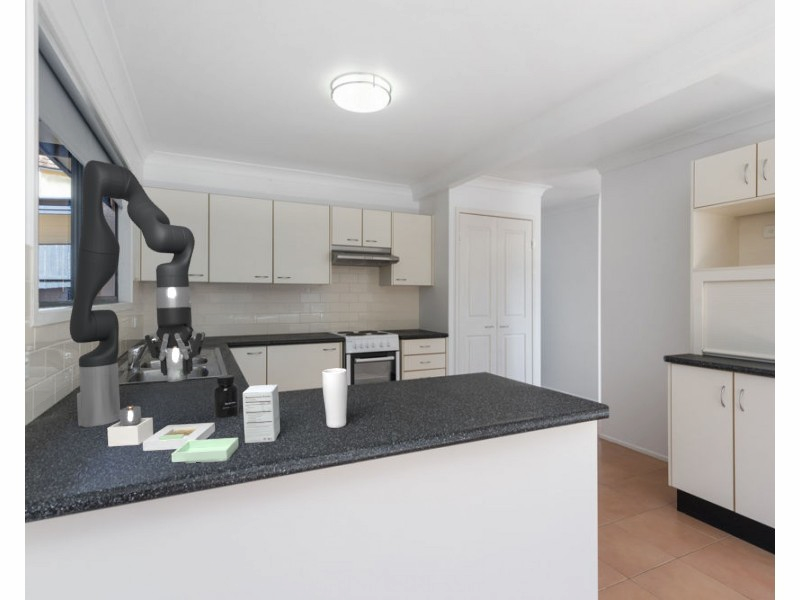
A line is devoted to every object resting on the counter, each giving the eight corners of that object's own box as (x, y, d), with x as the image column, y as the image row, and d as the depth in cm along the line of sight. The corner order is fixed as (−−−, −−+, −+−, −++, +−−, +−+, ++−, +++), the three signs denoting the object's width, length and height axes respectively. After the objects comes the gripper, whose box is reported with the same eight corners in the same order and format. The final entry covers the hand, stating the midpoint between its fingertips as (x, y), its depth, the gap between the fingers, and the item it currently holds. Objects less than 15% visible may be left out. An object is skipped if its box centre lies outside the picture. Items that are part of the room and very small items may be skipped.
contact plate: (163, 442, 100) (163, 438, 100) (174, 434, 106) (174, 430, 106) (188, 441, 100) (187, 437, 100) (198, 433, 106) (197, 429, 106)
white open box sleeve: (108, 448, 100) (107, 427, 100) (125, 438, 107) (124, 419, 107) (138, 446, 101) (137, 426, 101) (153, 436, 108) (152, 417, 108)
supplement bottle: (230, 419, 120) (228, 378, 120) (209, 419, 122) (207, 378, 121) (243, 412, 127) (242, 374, 127) (223, 412, 128) (222, 373, 128)
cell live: (163, 381, 100) (161, 346, 100) (172, 378, 105) (170, 344, 104) (182, 381, 100) (180, 345, 100) (190, 377, 105) (188, 343, 105)
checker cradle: (143, 452, 97) (142, 439, 97) (168, 435, 109) (167, 423, 109) (196, 449, 98) (195, 436, 97) (215, 432, 110) (214, 420, 109)
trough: (172, 464, 89) (171, 453, 89) (188, 450, 97) (187, 440, 97) (226, 460, 90) (226, 450, 90) (238, 447, 98) (238, 437, 98)
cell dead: (117, 444, 102) (115, 409, 102) (127, 437, 106) (126, 404, 106) (135, 442, 102) (134, 408, 102) (145, 436, 106) (143, 403, 106)
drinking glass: (328, 431, 107) (326, 374, 107) (320, 424, 113) (318, 370, 113) (352, 426, 110) (350, 371, 110) (344, 420, 116) (342, 367, 116)
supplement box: (252, 433, 108) (250, 385, 108) (280, 431, 109) (279, 383, 108) (243, 443, 101) (241, 392, 100) (274, 441, 101) (272, 390, 101)
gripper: (135, 307, 98) (138, 379, 98) (197, 305, 99) (200, 376, 99) (152, 306, 105) (155, 372, 106) (209, 304, 106) (212, 370, 107)
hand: (177, 374), depth 102 cm, fingers closed on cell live, 4 cm apart
